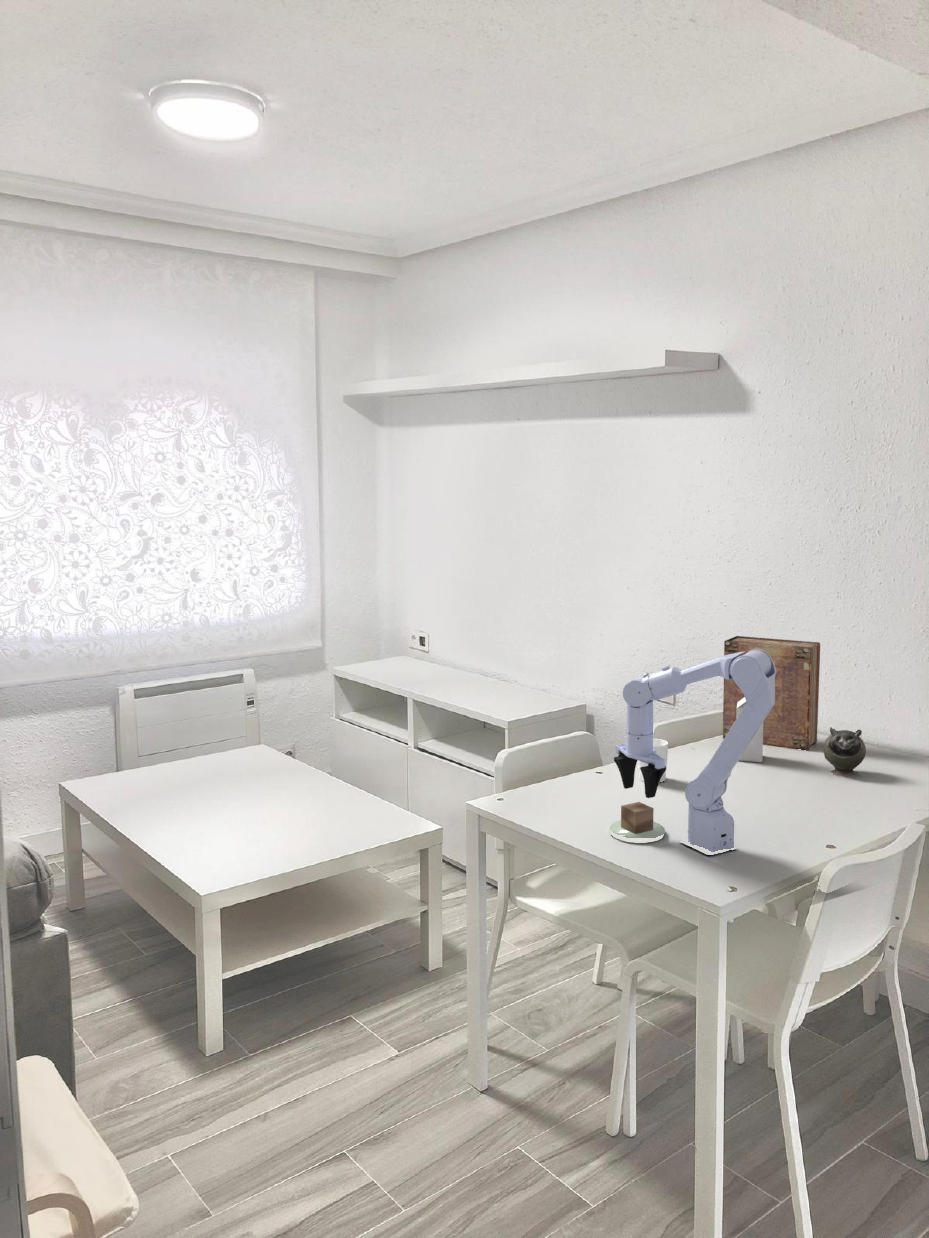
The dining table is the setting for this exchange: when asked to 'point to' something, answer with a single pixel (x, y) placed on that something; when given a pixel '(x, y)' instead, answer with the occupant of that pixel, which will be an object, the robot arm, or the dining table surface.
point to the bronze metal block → (637, 817)
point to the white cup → (661, 751)
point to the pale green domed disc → (654, 833)
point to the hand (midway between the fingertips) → (639, 792)
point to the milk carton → (756, 745)
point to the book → (782, 691)
